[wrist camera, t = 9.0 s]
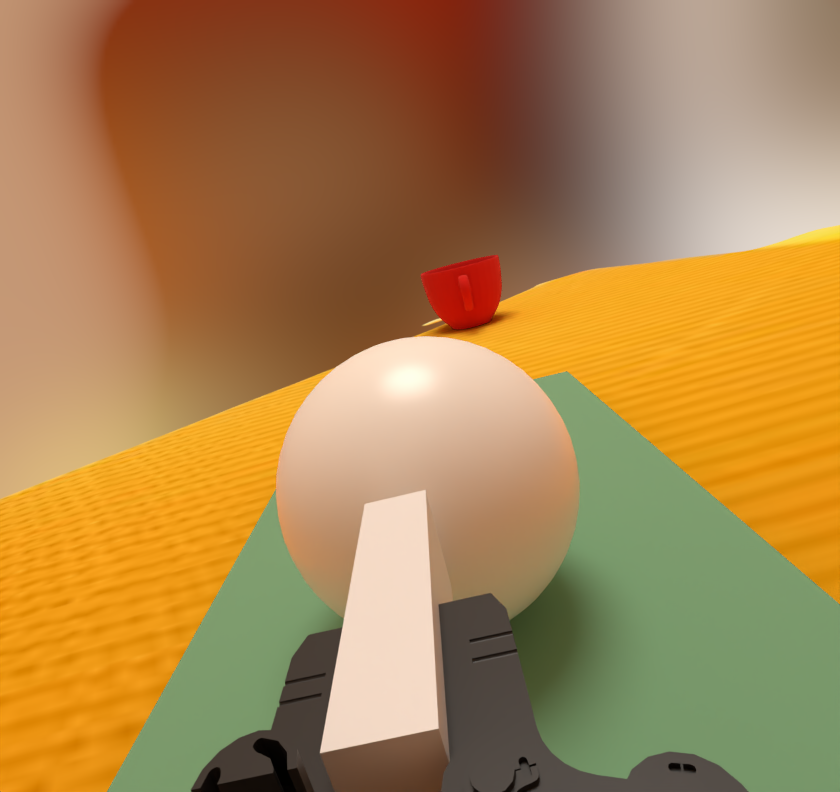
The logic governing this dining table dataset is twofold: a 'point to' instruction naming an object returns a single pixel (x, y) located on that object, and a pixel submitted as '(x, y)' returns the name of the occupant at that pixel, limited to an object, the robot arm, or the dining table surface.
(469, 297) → the ceramic cup
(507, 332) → the dining table surface
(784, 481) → the dining table surface
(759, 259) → the dining table surface
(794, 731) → the putting board
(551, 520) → the ball
